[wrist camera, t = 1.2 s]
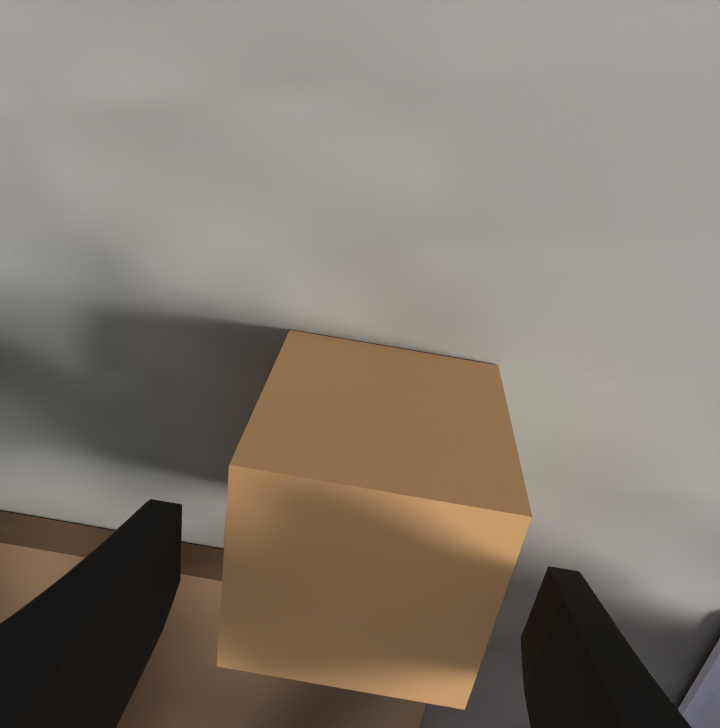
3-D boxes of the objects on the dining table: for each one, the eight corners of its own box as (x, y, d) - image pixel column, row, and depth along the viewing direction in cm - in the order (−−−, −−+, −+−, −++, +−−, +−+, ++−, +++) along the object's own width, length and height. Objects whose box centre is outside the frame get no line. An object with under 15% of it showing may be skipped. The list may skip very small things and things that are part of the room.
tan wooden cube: (498, 365, 16) (532, 516, 11) (453, 525, 18) (464, 709, 13) (289, 329, 16) (229, 464, 11) (272, 494, 18) (216, 666, 13)
